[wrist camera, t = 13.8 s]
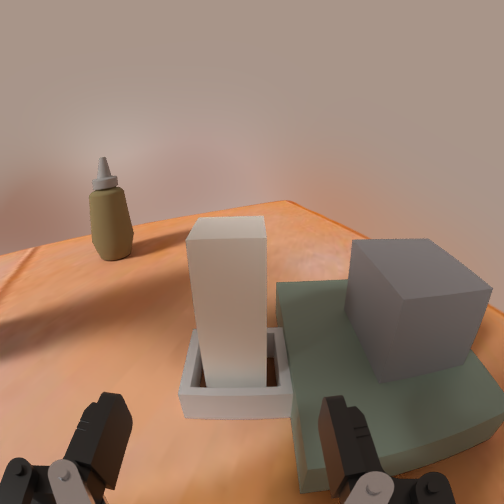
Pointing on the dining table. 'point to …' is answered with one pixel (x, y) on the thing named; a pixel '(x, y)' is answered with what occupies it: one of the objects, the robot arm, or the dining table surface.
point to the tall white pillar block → (230, 298)
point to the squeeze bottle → (109, 216)
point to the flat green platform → (372, 359)
